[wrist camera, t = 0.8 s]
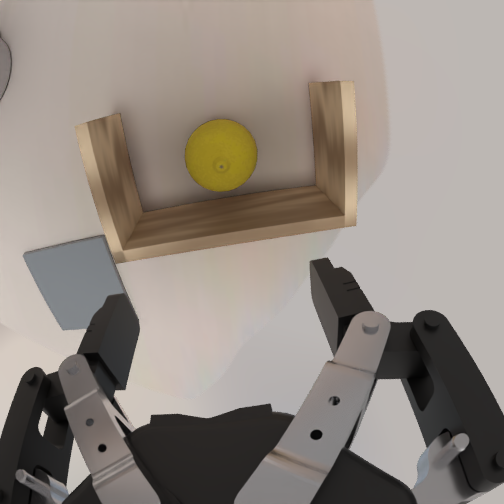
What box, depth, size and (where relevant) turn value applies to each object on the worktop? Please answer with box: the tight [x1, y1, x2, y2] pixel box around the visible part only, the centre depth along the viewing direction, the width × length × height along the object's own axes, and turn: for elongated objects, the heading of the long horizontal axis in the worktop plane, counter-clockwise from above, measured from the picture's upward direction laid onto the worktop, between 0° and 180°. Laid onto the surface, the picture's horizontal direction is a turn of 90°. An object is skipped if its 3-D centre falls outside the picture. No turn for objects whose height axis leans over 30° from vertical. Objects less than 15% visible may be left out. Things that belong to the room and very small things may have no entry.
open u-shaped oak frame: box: [75, 81, 357, 264], centre depth 22 cm, size 11×19×8 cm, turn 97°
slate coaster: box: [23, 235, 139, 330], centre depth 31 cm, size 12×12×1 cm
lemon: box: [185, 119, 257, 192], centre depth 22 cm, size 6×6×8 cm
